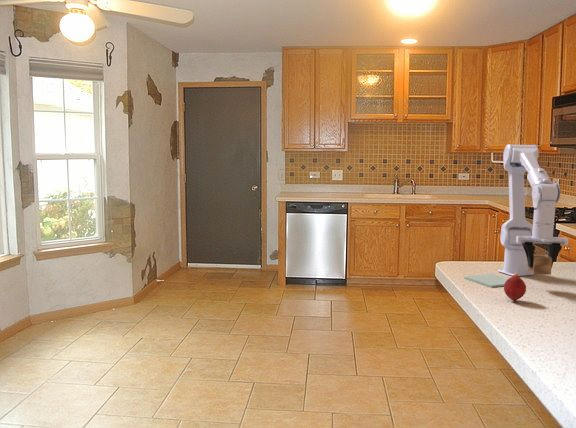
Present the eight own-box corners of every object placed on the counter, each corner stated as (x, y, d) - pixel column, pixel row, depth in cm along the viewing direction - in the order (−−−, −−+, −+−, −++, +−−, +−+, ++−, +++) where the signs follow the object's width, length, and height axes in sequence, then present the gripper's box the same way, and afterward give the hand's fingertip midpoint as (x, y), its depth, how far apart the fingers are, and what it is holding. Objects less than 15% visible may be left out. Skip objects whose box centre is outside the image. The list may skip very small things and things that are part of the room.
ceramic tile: (492, 275, 182) (492, 273, 182) (520, 284, 171) (520, 282, 171) (464, 278, 177) (464, 276, 177) (491, 287, 166) (491, 285, 166)
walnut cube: (533, 273, 163) (534, 257, 162) (528, 270, 168) (529, 254, 167) (550, 274, 162) (552, 258, 161) (545, 270, 167) (546, 254, 166)
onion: (527, 304, 149) (529, 276, 148) (505, 303, 150) (507, 275, 149) (522, 298, 155) (524, 271, 154) (501, 297, 156) (503, 270, 155)
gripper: (522, 224, 160) (519, 269, 162) (574, 225, 158) (569, 271, 160) (515, 220, 167) (512, 263, 168) (564, 222, 165) (560, 265, 167)
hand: (539, 267), depth 165 cm, fingers closed on walnut cube, 5 cm apart
